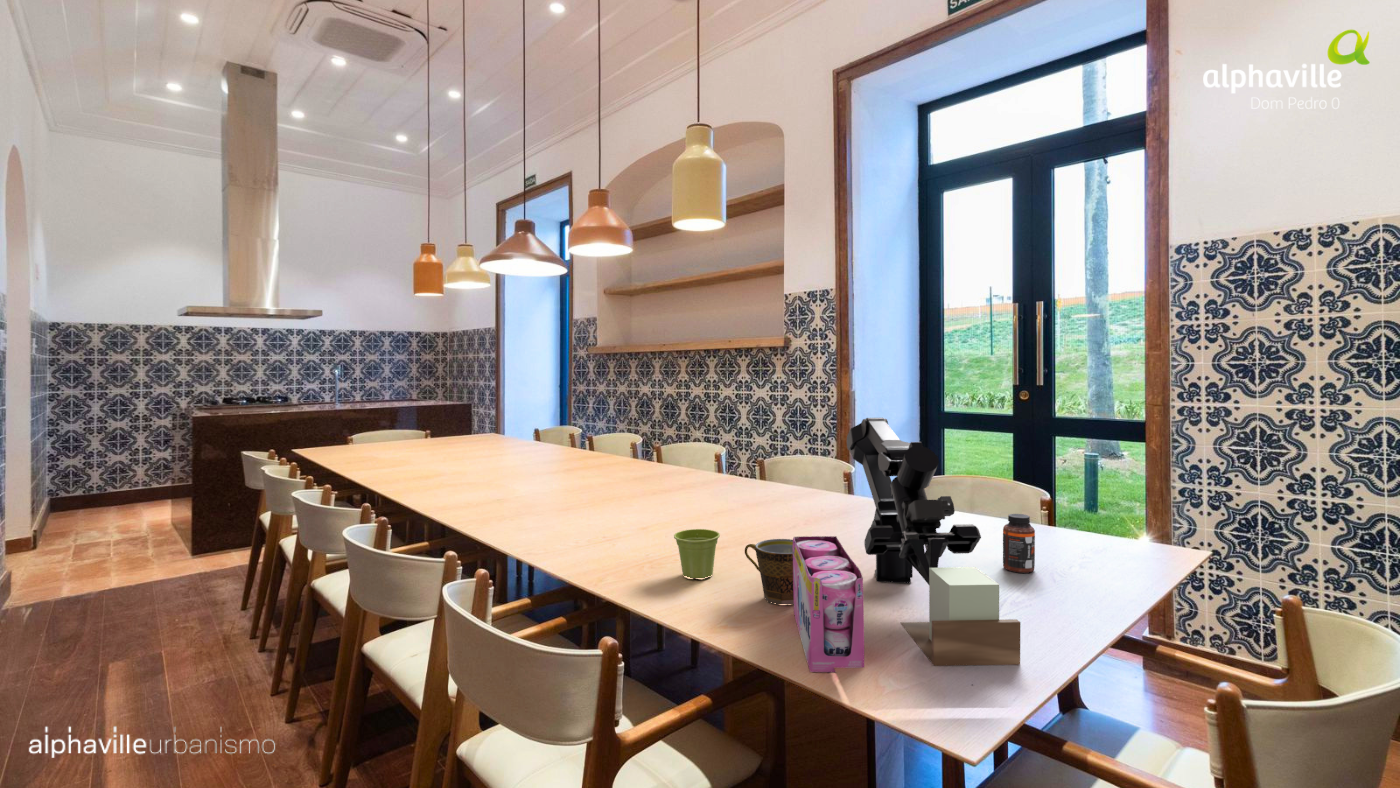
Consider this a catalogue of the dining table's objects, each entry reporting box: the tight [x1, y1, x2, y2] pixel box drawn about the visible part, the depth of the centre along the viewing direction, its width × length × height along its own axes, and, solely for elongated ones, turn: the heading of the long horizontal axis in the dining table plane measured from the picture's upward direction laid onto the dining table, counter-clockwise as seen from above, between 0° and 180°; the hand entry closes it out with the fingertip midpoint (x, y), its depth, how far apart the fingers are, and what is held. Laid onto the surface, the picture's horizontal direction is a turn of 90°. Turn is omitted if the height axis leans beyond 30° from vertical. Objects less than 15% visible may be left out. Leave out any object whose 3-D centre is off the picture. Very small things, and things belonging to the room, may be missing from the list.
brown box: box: [900, 618, 1021, 667], centre depth 98 cm, size 15×12×7 cm
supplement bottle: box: [1002, 513, 1036, 574], centre depth 135 cm, size 6×6×11 cm
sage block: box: [928, 566, 1000, 641], centre depth 95 cm, size 8×7×11 cm
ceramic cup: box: [744, 538, 794, 604], centre depth 120 cm, size 13×10×10 cm
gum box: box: [792, 535, 865, 673], centre depth 101 cm, size 24×8×14 cm, turn 178°
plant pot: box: [673, 528, 721, 578], centre depth 133 cm, size 9×9×9 cm
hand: (933, 585), depth 107 cm, fingers closed
